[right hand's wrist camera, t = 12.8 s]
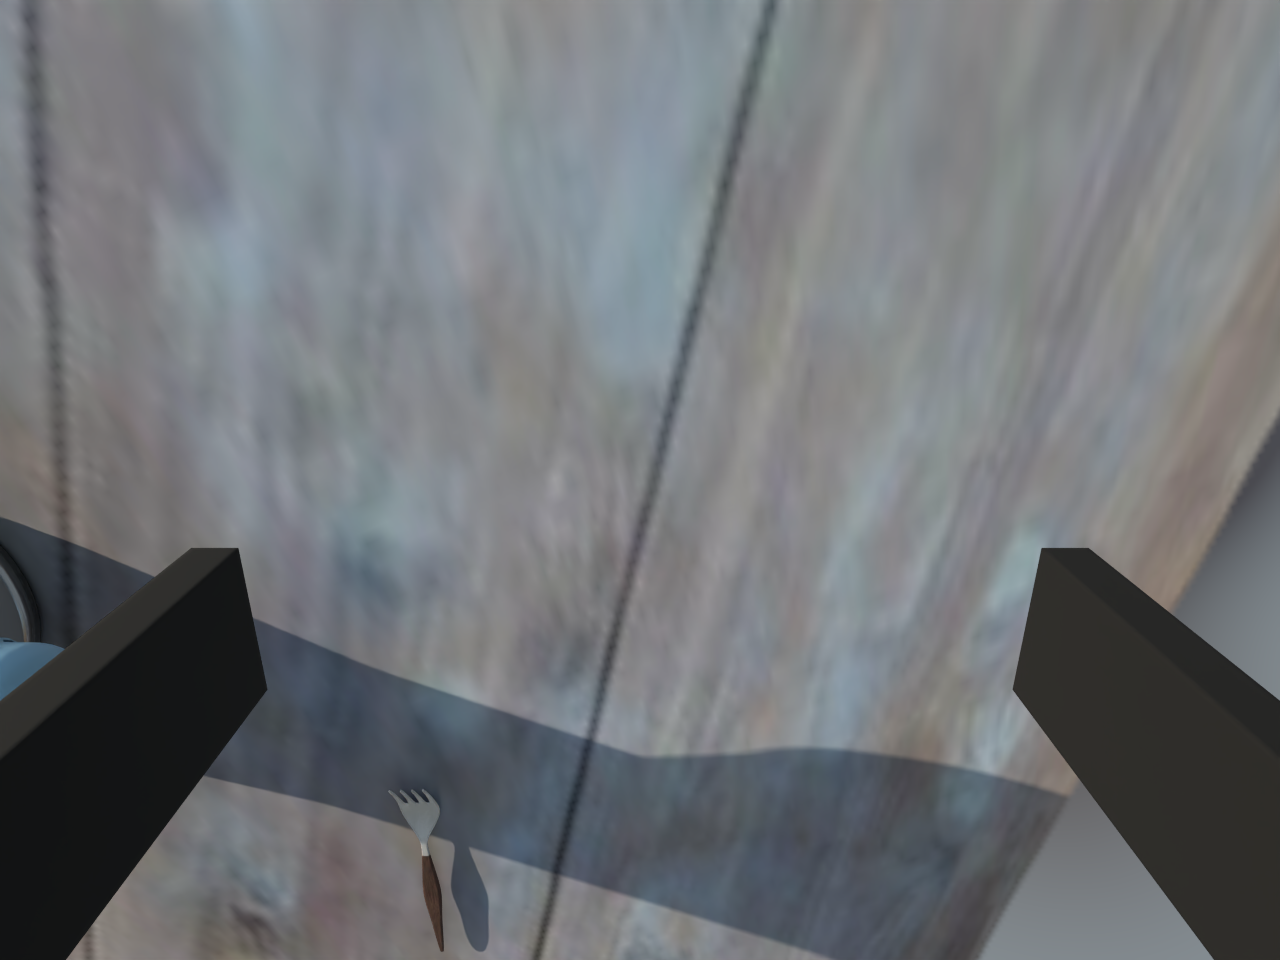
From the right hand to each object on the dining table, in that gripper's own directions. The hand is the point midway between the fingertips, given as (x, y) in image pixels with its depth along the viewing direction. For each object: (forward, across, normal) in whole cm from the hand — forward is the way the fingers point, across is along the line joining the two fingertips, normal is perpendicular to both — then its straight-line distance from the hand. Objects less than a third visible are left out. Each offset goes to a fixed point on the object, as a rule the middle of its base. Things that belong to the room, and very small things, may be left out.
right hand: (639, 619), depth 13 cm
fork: (+29, -14, -36) cm, 49 cm away
